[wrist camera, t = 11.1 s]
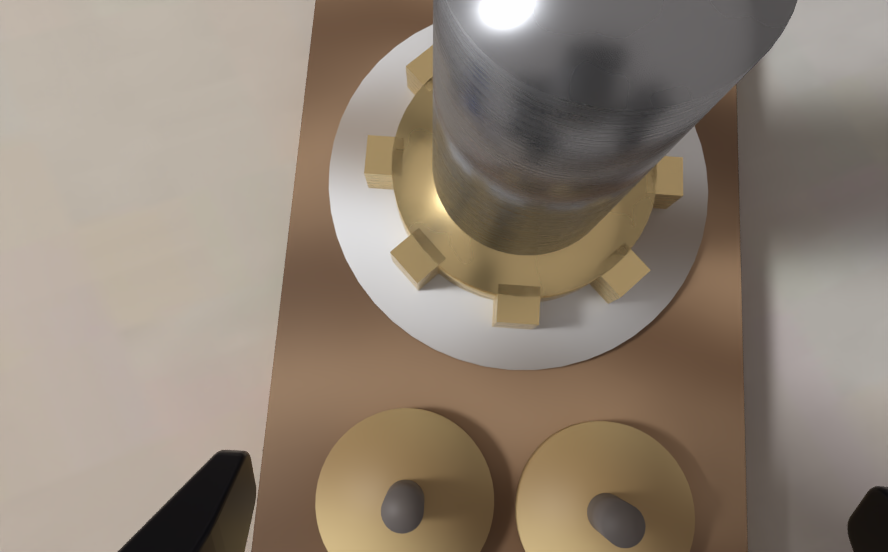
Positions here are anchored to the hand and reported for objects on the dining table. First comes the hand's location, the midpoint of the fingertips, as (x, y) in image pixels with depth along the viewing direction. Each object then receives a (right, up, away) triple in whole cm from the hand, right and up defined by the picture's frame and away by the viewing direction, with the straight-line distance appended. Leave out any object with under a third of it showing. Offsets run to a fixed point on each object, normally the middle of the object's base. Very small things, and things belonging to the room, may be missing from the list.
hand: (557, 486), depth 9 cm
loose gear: (+1, +6, +9) cm, 11 cm away
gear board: (0, +2, +9) cm, 10 cm away
